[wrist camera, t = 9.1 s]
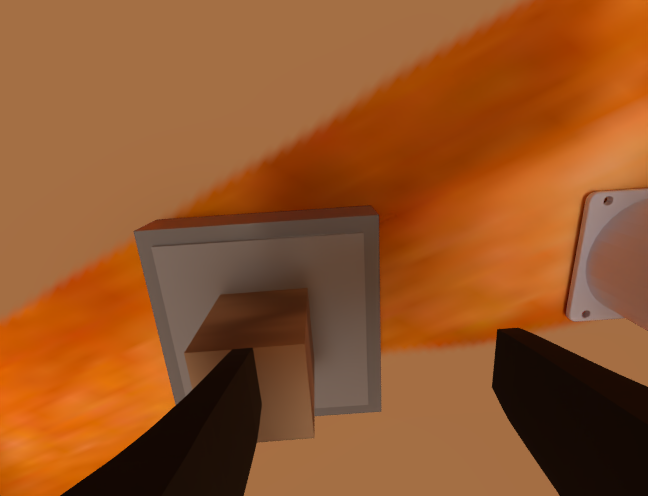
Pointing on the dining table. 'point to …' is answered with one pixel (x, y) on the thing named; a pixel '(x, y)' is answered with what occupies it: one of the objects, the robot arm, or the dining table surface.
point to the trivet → (275, 288)
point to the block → (264, 355)
